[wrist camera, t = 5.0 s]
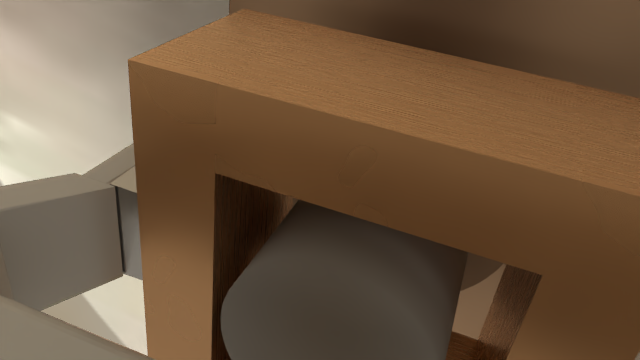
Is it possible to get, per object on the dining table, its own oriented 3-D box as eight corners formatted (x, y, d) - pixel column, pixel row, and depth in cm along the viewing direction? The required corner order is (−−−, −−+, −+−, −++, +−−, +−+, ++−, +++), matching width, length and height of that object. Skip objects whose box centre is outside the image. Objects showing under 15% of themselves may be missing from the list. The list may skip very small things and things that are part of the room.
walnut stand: (735, -41, 11) (1069, 114, 4) (563, 323, 16) (573, 671, 9) (272, -113, 13) (-38, -98, 6) (251, 224, 18) (69, 438, 11)
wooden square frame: (668, 104, 7) (720, 218, 5) (522, 404, 11) (511, 559, 8) (244, 8, 9) (128, 59, 7) (231, 296, 12) (151, 401, 10)
